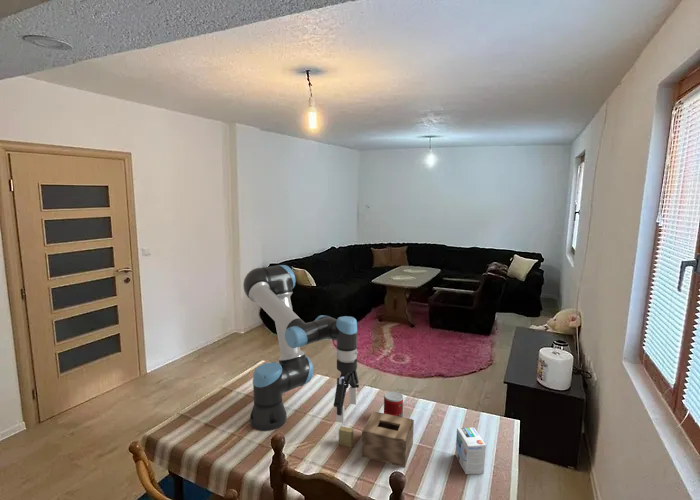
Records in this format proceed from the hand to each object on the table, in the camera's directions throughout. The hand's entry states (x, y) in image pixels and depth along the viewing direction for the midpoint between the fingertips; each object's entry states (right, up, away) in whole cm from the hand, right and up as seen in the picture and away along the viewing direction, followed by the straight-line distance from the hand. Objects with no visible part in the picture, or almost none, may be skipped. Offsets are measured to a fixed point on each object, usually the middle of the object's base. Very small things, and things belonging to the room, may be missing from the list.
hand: (346, 412), depth 148 cm
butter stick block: (0, -13, +2) cm, 13 cm away
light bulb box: (+44, -15, -9) cm, 47 cm away
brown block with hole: (+15, -13, -2) cm, 20 cm away
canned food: (+19, -11, +18) cm, 29 cm away
